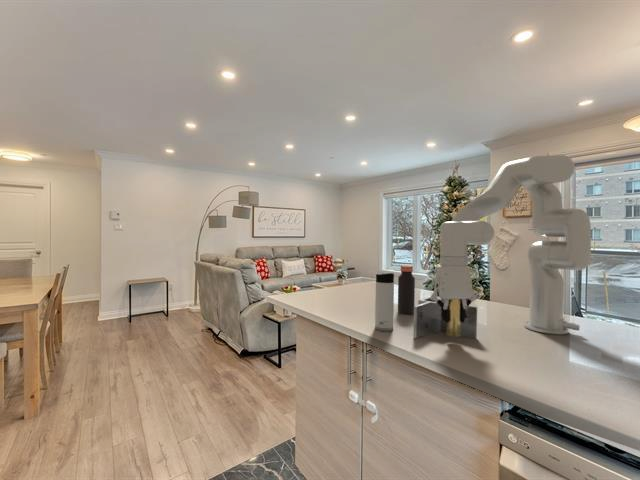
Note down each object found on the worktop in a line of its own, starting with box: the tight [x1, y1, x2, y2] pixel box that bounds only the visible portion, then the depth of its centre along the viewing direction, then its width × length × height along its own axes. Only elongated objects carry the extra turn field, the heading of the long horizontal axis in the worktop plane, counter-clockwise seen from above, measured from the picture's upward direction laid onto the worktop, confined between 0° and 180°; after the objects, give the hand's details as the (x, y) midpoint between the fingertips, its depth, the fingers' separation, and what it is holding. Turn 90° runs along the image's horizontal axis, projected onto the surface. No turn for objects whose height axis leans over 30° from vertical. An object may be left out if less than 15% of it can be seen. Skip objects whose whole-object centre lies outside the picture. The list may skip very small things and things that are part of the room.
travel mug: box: [374, 272, 395, 333], centre depth 106 cm, size 6×7×20 cm
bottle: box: [397, 264, 416, 316], centre depth 129 cm, size 7×7×20 cm
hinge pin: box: [445, 299, 462, 338], centre depth 93 cm, size 4×4×12 cm
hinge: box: [412, 296, 478, 340], centre depth 100 cm, size 18×18×10 cm
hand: (453, 320), depth 93 cm, fingers closed on hinge pin, 4 cm apart
